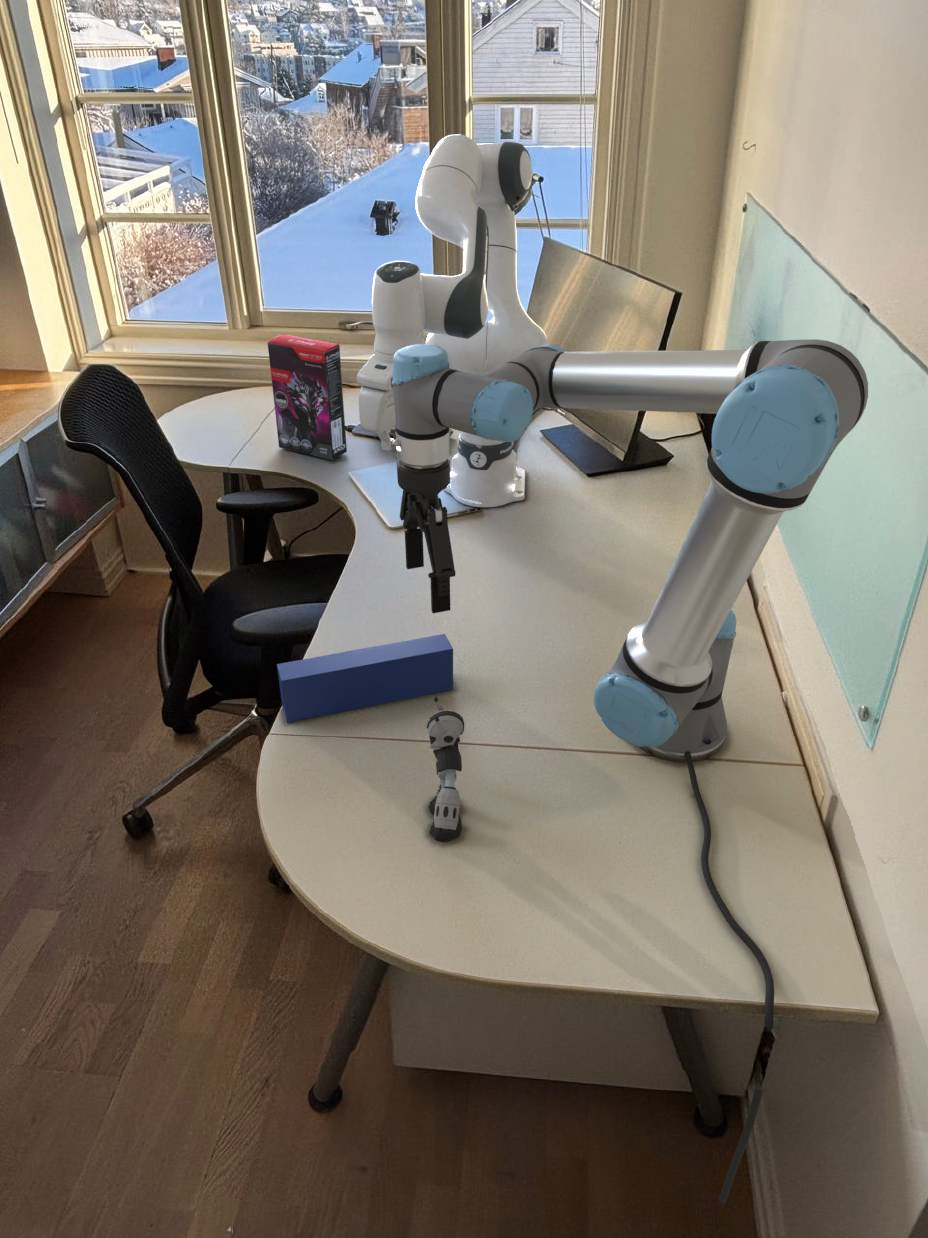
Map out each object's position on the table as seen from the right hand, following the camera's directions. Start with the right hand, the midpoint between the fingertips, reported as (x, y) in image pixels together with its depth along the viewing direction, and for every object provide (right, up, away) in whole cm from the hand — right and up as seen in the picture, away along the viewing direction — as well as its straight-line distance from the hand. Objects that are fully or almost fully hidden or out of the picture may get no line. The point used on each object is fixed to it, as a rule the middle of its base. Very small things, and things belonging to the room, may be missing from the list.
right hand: (427, 588), depth 141 cm
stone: (-9, +41, +95) cm, 104 cm away
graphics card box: (-32, +37, +89) cm, 102 cm away
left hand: (-5, +27, +24) cm, 37 cm away
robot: (+3, -33, -14) cm, 36 cm away
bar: (-10, -17, +8) cm, 22 cm away
